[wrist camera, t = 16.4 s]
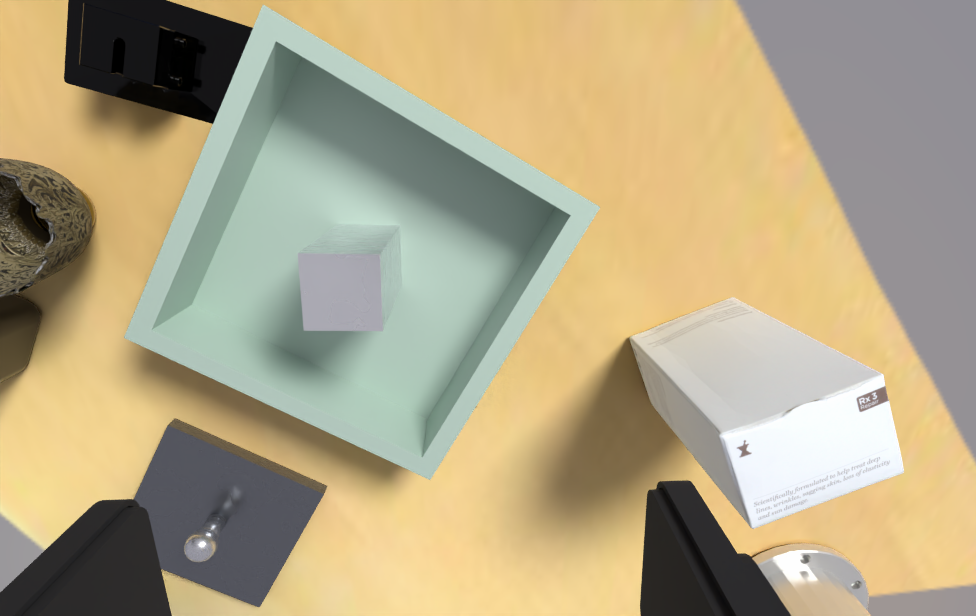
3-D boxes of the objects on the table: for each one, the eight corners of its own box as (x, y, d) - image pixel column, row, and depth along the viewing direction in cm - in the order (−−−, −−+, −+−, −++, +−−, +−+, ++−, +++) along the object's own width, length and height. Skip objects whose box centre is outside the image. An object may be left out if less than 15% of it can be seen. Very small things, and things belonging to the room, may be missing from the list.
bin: (579, 195, 37) (600, 207, 31) (434, 432, 42) (430, 480, 36) (297, 26, 33) (262, 4, 28) (175, 306, 38) (124, 337, 32)
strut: (400, 225, 36) (380, 254, 28) (401, 285, 37) (382, 331, 29) (337, 224, 36) (297, 253, 27) (341, 284, 37) (303, 330, 29)
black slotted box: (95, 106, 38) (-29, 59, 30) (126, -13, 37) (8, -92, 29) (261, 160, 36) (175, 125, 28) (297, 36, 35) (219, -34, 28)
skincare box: (649, 401, 42) (743, 540, 28) (625, 331, 40) (712, 440, 26) (758, 362, 41) (912, 483, 27) (738, 288, 39) (892, 376, 25)
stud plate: (327, 486, 43) (311, 526, 38) (263, 597, 46) (242, 647, 41) (175, 418, 41) (139, 452, 36) (118, 539, 44) (79, 585, 39)
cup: (134, 272, 37) (49, 308, 30) (17, 259, 37) (-100, 292, 29) (128, 157, 35) (34, 164, 28) (3, 141, 35) (-127, 144, 27)
